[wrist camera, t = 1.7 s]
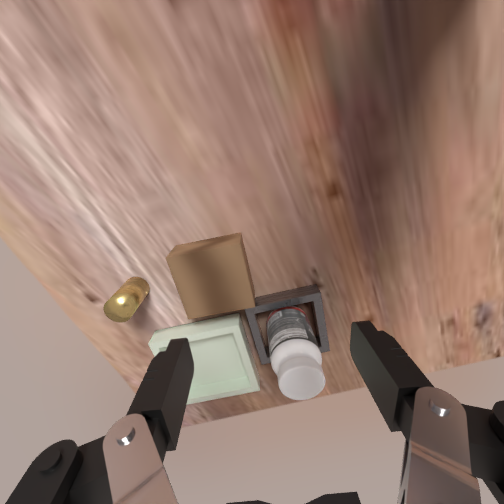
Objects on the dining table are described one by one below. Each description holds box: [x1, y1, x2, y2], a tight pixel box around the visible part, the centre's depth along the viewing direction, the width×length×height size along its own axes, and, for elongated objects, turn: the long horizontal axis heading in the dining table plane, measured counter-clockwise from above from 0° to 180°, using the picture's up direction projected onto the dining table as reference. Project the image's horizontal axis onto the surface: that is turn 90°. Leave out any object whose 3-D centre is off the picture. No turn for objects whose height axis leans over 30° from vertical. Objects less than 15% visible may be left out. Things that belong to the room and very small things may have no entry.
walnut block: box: [166, 233, 255, 319], centre depth 28 cm, size 8×8×4 cm
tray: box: [148, 313, 260, 405], centre depth 34 cm, size 12×12×2 cm
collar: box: [245, 284, 330, 364], centre depth 32 cm, size 10×10×2 cm
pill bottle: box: [267, 306, 325, 400], centre depth 28 cm, size 6×6×10 cm
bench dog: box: [104, 277, 150, 322], centre depth 28 cm, size 3×3×5 cm
